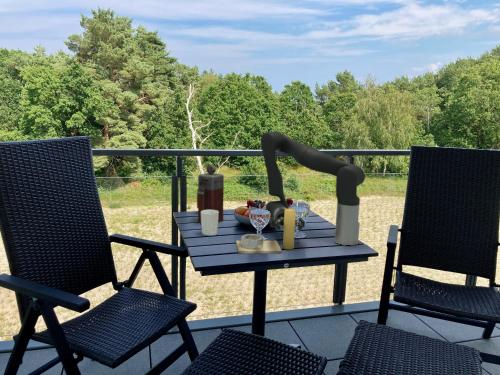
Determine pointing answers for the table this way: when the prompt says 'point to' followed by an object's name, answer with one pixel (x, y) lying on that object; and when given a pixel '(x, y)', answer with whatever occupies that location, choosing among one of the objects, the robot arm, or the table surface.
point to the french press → (210, 192)
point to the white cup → (209, 222)
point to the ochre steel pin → (289, 228)
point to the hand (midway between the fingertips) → (290, 227)
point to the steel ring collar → (252, 241)
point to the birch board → (268, 247)
